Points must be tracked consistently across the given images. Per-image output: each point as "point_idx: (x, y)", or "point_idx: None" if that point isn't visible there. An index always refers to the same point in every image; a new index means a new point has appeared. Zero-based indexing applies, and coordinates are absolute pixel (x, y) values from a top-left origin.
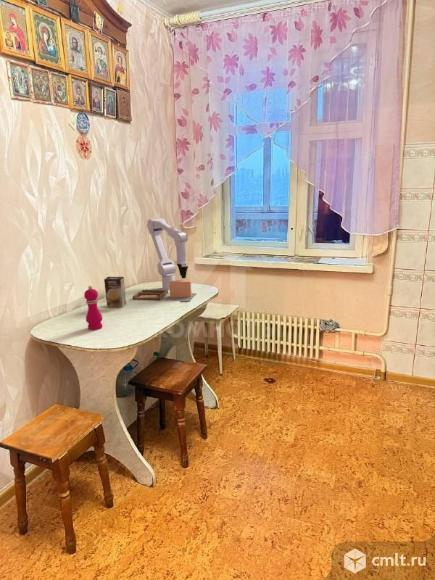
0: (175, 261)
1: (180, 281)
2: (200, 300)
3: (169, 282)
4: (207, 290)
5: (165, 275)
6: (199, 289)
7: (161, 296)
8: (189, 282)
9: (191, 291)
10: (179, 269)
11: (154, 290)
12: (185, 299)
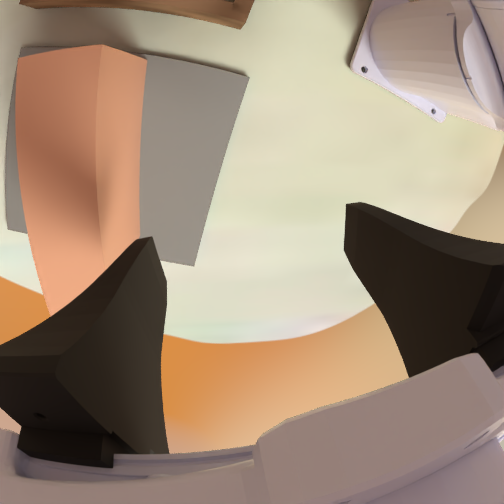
0: (469, 441)
1: (43, 217)
2: None
3: (20, 65)
4: (280, 316)
5: (462, 13)
6: (323, 271)
7: (62, 1)
8: (53, 307)
9: None
10: (88, 320)
11: None
12: None
